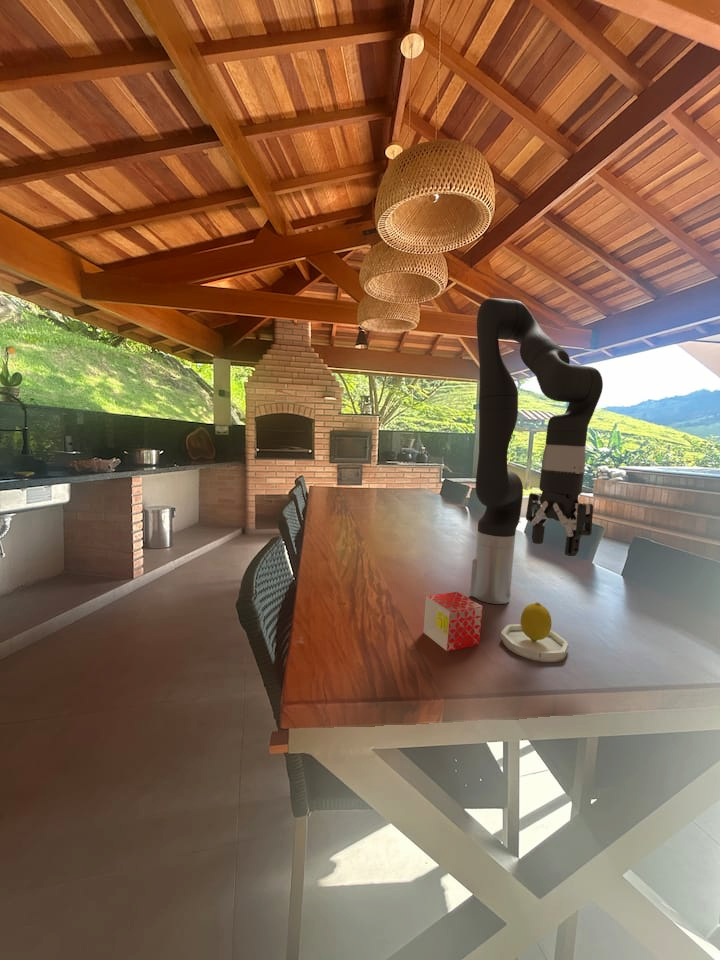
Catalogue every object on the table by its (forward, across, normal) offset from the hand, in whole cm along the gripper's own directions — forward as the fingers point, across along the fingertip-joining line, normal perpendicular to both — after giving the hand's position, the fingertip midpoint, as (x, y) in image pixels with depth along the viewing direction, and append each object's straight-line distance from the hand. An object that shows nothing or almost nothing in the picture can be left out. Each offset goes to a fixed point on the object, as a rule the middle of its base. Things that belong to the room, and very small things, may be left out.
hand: (553, 549), depth 80 cm
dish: (+19, +2, -4) cm, 20 cm away
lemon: (+18, +2, -4) cm, 19 cm away
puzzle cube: (+20, -5, -19) cm, 28 cm away
